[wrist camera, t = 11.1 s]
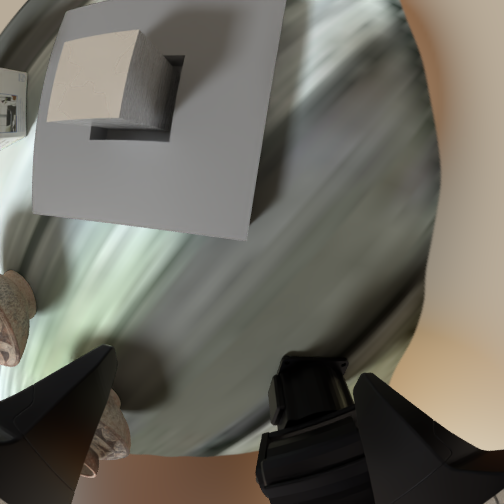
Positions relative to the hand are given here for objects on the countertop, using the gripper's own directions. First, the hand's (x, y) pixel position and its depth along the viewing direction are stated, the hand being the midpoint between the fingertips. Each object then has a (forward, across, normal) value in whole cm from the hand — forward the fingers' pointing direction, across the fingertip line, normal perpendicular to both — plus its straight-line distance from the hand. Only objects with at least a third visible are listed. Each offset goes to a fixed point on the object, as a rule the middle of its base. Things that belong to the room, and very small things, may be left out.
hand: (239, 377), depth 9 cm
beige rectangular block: (+11, +8, -10) cm, 17 cm away
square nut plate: (+12, +8, -10) cm, 18 cm away
